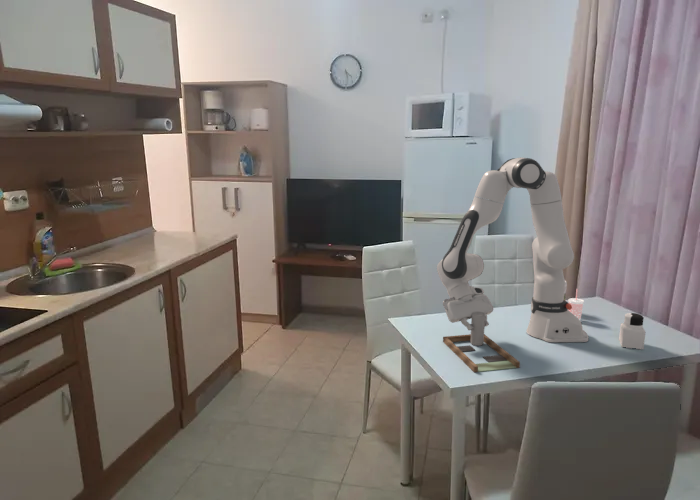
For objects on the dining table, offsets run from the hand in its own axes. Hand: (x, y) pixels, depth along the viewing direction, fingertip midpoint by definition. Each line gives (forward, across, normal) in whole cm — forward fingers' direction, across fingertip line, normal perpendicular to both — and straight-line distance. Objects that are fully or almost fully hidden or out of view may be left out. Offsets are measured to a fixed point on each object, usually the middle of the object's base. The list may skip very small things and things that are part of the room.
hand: (479, 327), depth 190 cm
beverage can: (+4, 0, +5) cm, 7 cm away
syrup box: (-3, +57, +13) cm, 59 cm away
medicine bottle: (+26, +48, -16) cm, 57 cm away
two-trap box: (+10, -6, 0) cm, 12 cm away
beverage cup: (+6, +54, +4) cm, 54 cm away
